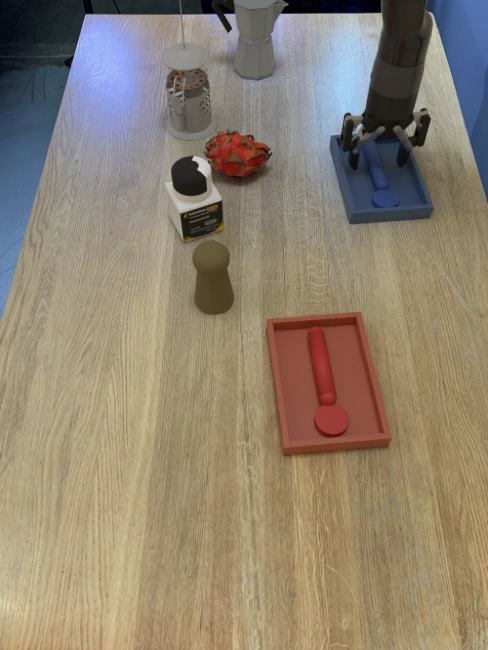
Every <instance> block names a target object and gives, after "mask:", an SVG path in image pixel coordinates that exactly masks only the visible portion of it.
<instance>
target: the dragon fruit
mask: <svg viewBox="0 0 488 650" xmlns="http://www.w3.org/2000/svg"><path fill="white" fill-rule="evenodd" d="M225 131H226V132H225ZM225 131H224V130H219V131H218V132H217V135H214V136H212V137H211V138H210V139H209V140H208V141H207V142H205V150H203V151H202V154H204V155H203V156H204V157H205V158H207V159H208V160H207V162H208V163H209V164H210V167H211V171H213V172H215V171H218V170H219V171H220V172H221V173H223V174H224V175H225V176H226V177H227V178H228V179H229V181H230V182H233V181H234V179H235V177H234V176H236V177H242V178H251V177H253V176H254V175H257V174H258V173H259V170H260V169H261V168H262V166H263V165H264V164H266V163H267V162H268V161H269V160H270V158H271V156H272V155H273V152H272V151H271V150H272V149H271V147H270V146H269V145H268V144H266V143H264V142H259V141H256V138H255V136H254V135H253V134H251V133H249V134H246V135H241V134H240V131H239V130H236V129H234V130H233V131H232V132H231V131H230V130H229V128H227V127H226V130H225ZM270 151H271V152H270ZM210 160H211V161H210Z"/></svg>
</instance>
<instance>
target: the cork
mask: <svg viewBox="0 0 488 650" xmlns="http://www.w3.org/2000/svg"><path fill="white" fill-rule="evenodd" d="M191 257H192V259H191V261H192V265H193V267H194V269H195V270H196V277H195V287H194V288H195V289H194V301H193V302H194V305H195V307H196V308H197V309H198V311H200V312H202V313H204V314H207V315H213V316H214V315H215V316H216V315H220V314H224V313H226V312H227V311H229V310H230V309H231V307H232V306H233V304H234V301H235V295H234V290H233V285H232V282H231V278H230V274H229V270H228V267H229V265H230V262H231V255H230V252H229V249H228V247H226V246H225V244H223V243H221V242H220V241H218V240H214V239H213V240H205V241H201V242H200V243H199V244H198V245H197V246H196V247H195V248H194V250H193V252H192V256H191Z"/></svg>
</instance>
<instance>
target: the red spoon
mask: <svg viewBox="0 0 488 650" xmlns="http://www.w3.org/2000/svg"><path fill="white" fill-rule="evenodd" d="M308 341H309V347H310V352H311V358H312V363H313V369H314V374H315V380H316V386H317V391H318V397H319V401H320V403H321V404H322V406H320V407H319V408H318V409H317V411H316V413H315V418H314V425H315V427H316V429H317V431H318V432H319V433H320V434H322V435H323V436H325V437H329V438H334V437H339V436H341V435H342V434H343V433H344V432H345V431H346V429H347V427H348V423H349V417H348V414H347V412H346V411H345V409H344V408H343V407H341V406H340V405H337V404H335V403H336V401H337V394H336V389H335V384H334V379H333V374H332V369H331V364H330V359H329V354H328V349H327V344H326V339H325V334H324V331H323V329H322V328H320V327H318V326H314V327H312V328H310V329H309V331H308Z"/></svg>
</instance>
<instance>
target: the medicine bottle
mask: <svg viewBox="0 0 488 650" xmlns="http://www.w3.org/2000/svg"><path fill="white" fill-rule="evenodd" d="M210 164H211V163H210ZM210 164H209V163H208V160H206V159H205V158H204V157H203V158H202V157H200V156H197V155H188V156H187V155H186V156H184V157H181V158H179V159H177V160H176V161H174V163H173V164H172V165H171V169H170V176H171V181H168V182H165V183H164V190H165V197H166V202H167V211H168V215H169V217H170V219H171V221H172V223H173V225H174V227H175V229H176V230H177V232H178V235H179V236H180V238H181V240H182V242H183V243H188V242H191V241H193V240H194V241H195V240H197V239H200V238H203V237H206V236H209V235H212V234H215V233H218V232H221V231H223V230H224V229H225V227H224V225H225V224H224V207H223V206H224V205H223V203H224V202H223V198H222V196H221V194H220V192H219V190H218V189H217V187H216V186H215V184H214V182H213V180H212V177H213V176H212V169H211V167H210Z"/></svg>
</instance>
